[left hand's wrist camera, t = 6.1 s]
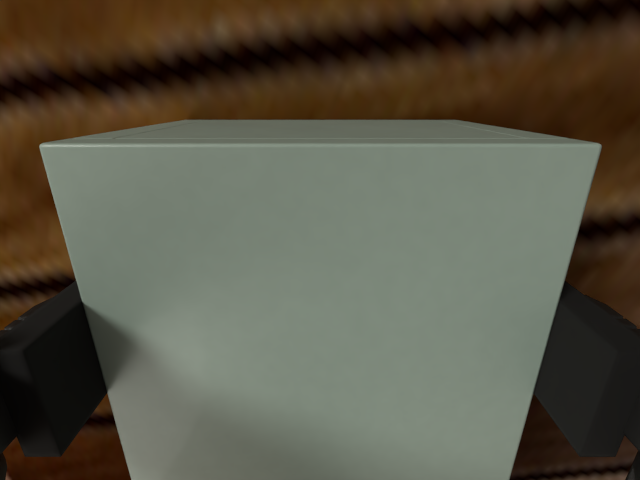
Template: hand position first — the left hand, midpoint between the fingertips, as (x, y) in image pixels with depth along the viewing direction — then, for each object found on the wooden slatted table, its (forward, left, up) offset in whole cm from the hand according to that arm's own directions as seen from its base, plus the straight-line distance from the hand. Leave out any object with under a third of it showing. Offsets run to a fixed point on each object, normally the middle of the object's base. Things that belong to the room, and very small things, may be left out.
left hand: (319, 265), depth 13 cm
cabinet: (0, +3, -3) cm, 5 cm away
